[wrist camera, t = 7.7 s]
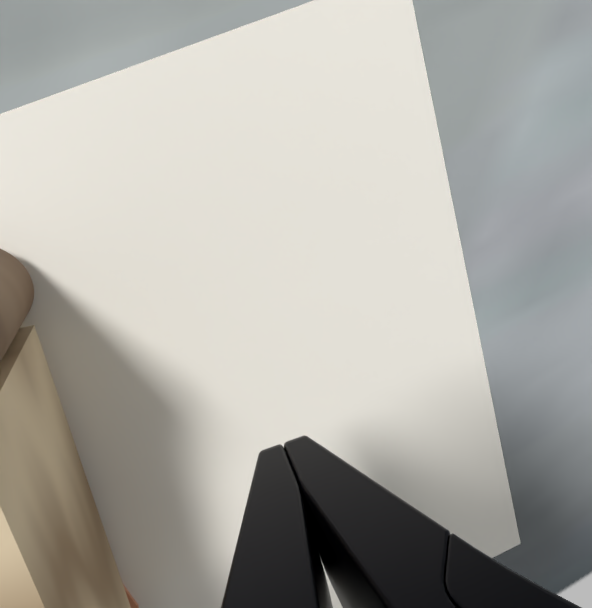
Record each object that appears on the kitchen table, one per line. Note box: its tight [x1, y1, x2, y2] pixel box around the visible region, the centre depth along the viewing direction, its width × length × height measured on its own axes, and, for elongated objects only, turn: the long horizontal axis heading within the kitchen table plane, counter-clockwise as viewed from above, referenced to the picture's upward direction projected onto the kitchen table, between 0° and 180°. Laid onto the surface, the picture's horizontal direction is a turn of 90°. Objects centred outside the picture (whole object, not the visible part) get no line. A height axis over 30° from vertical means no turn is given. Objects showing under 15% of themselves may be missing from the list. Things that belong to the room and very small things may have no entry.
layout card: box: [0, 0, 521, 608], centre depth 14 cm, size 25×19×1 cm
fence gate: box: [0, 249, 131, 608], centre depth 11 cm, size 14×2×6 cm, turn 7°
